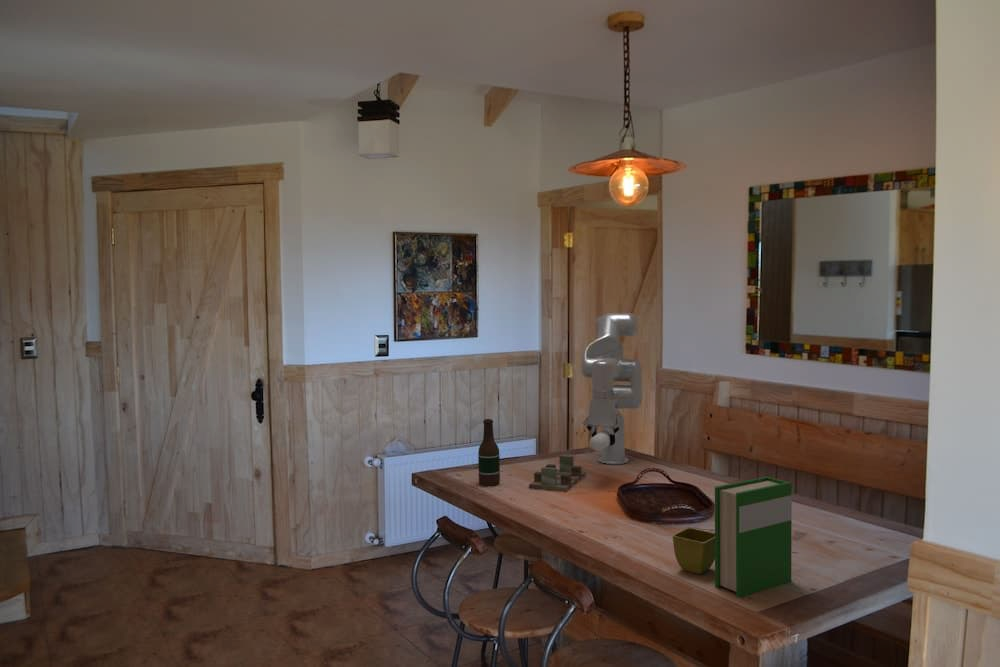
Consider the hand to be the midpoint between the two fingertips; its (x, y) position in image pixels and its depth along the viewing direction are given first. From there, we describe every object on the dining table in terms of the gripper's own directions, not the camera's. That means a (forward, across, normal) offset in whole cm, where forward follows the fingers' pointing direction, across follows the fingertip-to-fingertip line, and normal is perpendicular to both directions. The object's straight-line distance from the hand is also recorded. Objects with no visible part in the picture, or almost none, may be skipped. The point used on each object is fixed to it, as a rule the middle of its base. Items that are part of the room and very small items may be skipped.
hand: (603, 444), depth 275 cm
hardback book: (+14, -57, +79) cm, 99 cm away
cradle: (+15, +17, +1) cm, 23 cm away
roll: (+1, 0, 0) cm, 1 cm away
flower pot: (+14, -43, +74) cm, 87 cm away
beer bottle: (+15, +40, +12) cm, 44 cm away
